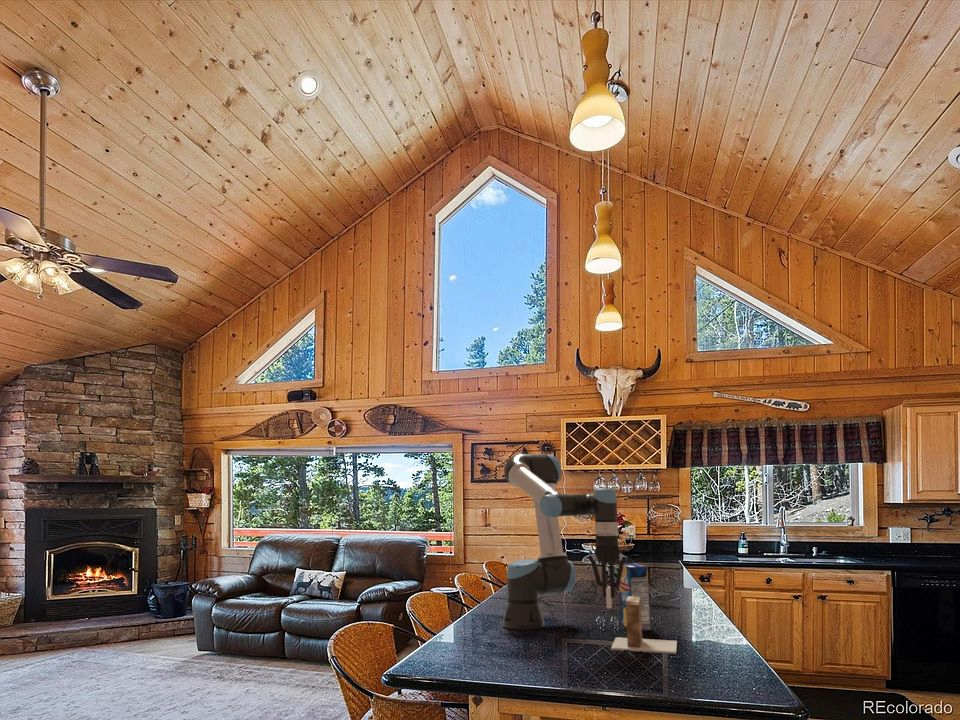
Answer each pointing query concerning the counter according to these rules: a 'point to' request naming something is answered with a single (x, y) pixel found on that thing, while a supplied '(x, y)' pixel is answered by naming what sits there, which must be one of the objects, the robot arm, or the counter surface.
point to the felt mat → (647, 645)
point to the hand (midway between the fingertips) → (609, 607)
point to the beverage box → (635, 591)
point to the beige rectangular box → (634, 621)
